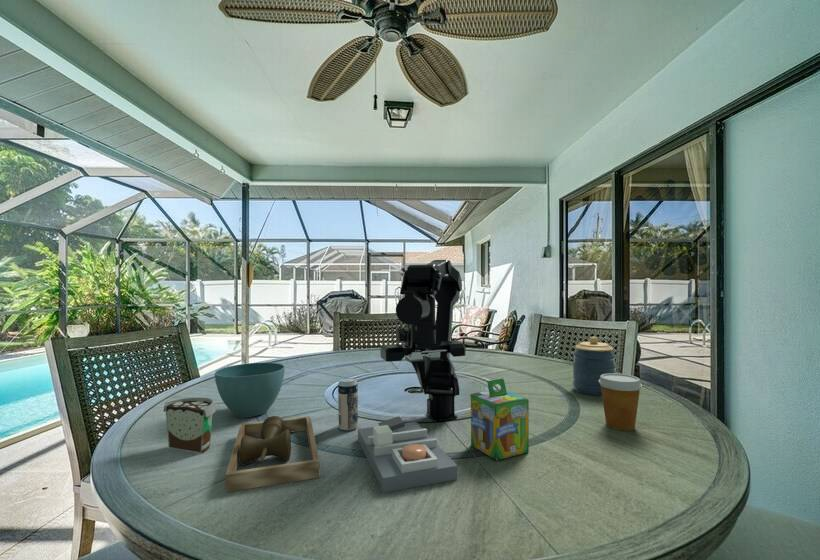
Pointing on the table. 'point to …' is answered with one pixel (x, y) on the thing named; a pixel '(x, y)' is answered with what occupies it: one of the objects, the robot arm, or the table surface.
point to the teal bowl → (250, 387)
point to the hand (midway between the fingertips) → (423, 388)
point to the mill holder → (276, 472)
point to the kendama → (267, 442)
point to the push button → (413, 452)
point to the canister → (592, 365)
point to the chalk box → (499, 422)
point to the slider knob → (382, 435)
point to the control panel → (412, 473)
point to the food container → (189, 423)
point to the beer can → (348, 404)
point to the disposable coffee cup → (620, 400)
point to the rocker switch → (393, 423)
